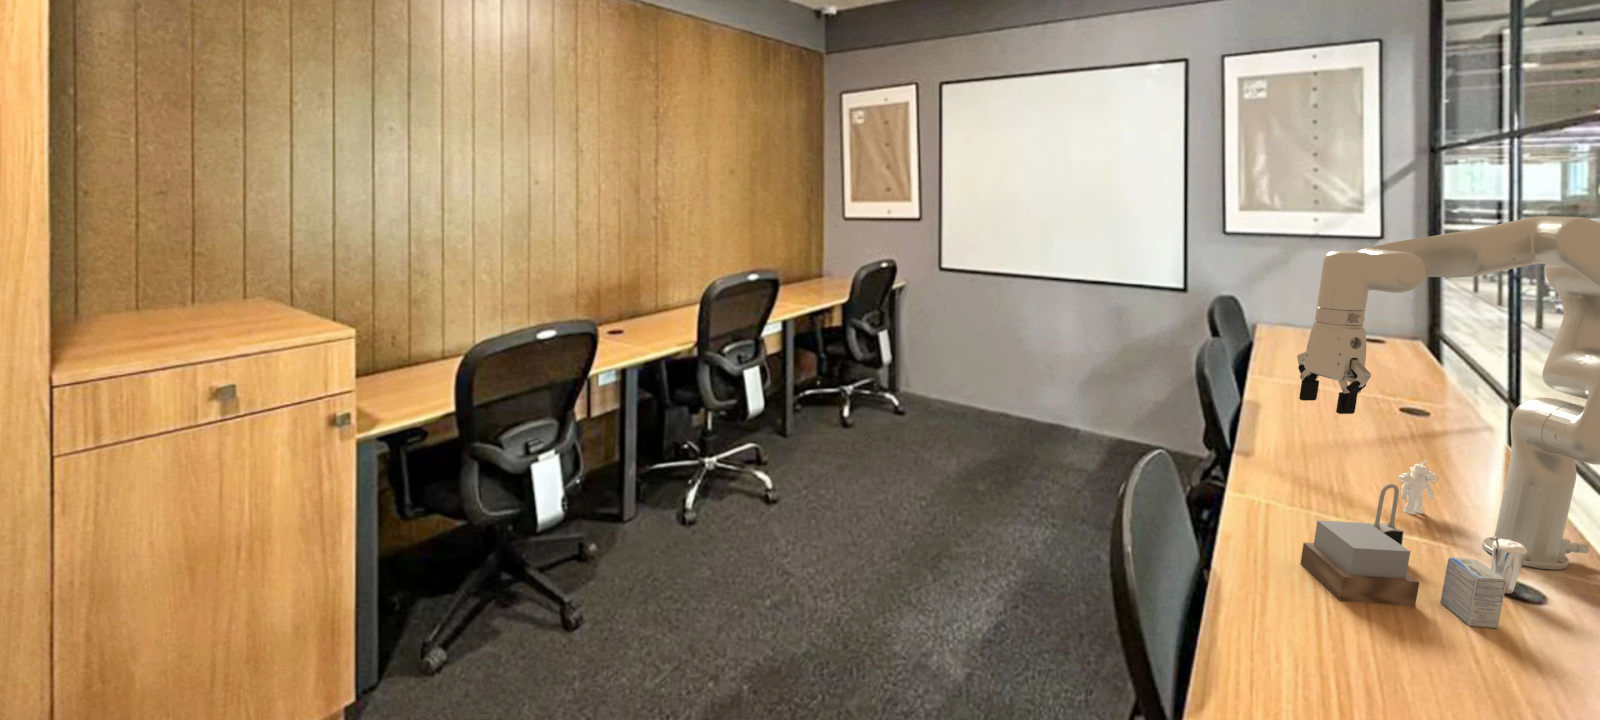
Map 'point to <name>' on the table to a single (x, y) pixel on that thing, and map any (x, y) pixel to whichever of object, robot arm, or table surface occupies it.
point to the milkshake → (1508, 561)
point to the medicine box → (1473, 592)
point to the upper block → (1361, 549)
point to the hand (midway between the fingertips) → (1325, 406)
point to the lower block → (1358, 582)
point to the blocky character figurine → (1416, 487)
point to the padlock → (1390, 527)
